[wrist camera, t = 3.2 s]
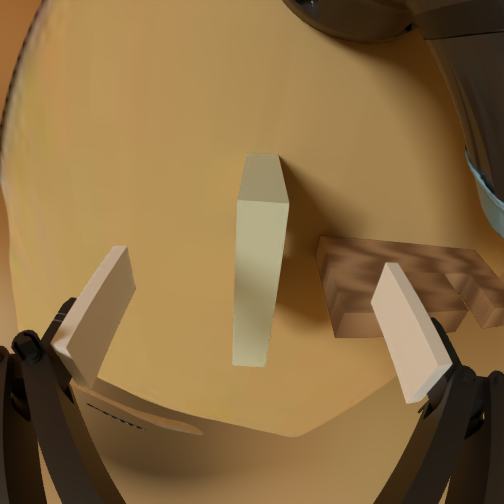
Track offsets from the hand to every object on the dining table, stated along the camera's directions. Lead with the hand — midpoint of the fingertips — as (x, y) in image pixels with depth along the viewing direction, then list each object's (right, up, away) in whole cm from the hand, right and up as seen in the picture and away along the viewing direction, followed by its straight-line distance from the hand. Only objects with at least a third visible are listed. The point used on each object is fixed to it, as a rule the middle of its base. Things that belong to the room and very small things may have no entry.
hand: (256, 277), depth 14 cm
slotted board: (+19, +1, +18) cm, 26 cm away
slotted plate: (0, +4, +17) cm, 17 cm away
